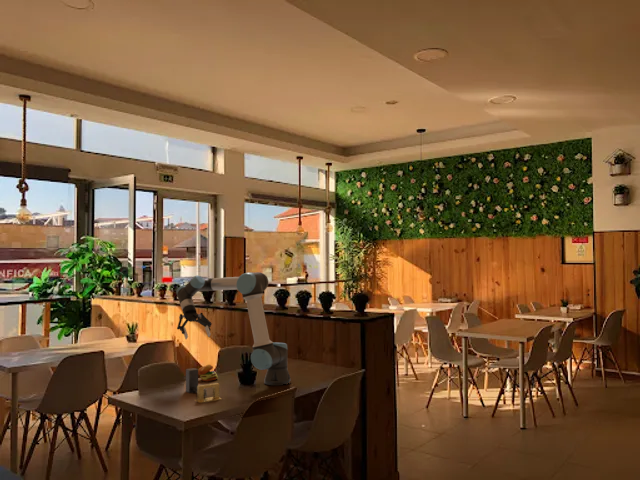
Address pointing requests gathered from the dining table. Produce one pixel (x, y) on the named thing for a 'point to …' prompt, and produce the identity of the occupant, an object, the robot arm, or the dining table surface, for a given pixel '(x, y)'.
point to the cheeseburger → (207, 373)
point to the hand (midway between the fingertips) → (198, 336)
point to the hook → (192, 381)
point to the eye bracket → (201, 397)
